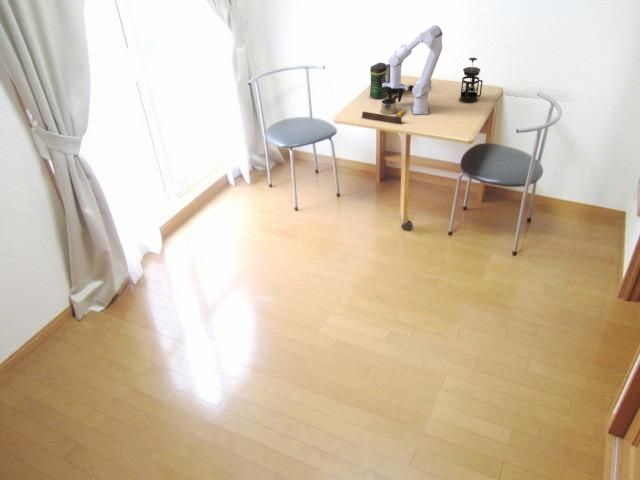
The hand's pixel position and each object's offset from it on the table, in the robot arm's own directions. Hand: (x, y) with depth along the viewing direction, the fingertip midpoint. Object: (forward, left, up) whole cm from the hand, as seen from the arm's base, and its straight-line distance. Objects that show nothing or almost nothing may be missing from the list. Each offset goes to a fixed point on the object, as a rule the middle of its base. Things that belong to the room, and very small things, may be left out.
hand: (394, 100), depth 285 cm
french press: (-4, +41, -3) cm, 42 cm away
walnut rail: (+19, -8, -3) cm, 21 cm away
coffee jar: (-15, -9, -3) cm, 17 cm away
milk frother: (-22, +4, -3) cm, 22 cm away
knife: (+15, +1, -3) cm, 16 cm away
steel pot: (+4, -2, -3) cm, 6 cm away
